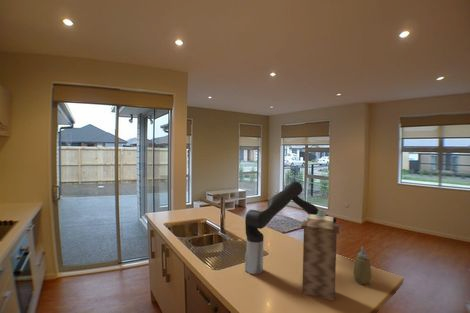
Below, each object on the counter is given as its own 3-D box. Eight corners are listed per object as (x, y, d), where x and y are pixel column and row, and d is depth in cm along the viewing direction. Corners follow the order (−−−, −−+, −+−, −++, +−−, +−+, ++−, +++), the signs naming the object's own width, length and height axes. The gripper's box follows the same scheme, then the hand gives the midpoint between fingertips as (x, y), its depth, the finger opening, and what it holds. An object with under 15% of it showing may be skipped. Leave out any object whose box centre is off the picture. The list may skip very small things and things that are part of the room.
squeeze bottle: (355, 276, 129) (356, 242, 128) (372, 281, 123) (373, 246, 123) (351, 282, 122) (352, 247, 122) (369, 288, 117) (370, 251, 117)
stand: (299, 293, 111) (301, 225, 111) (302, 283, 120) (303, 220, 119) (337, 302, 105) (339, 230, 105) (337, 291, 114) (338, 224, 113)
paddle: (307, 225, 110) (307, 218, 110) (310, 216, 127) (310, 209, 127) (333, 229, 106) (333, 221, 106) (333, 218, 123) (333, 211, 123)
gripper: (312, 213, 149) (309, 208, 136) (337, 217, 143) (336, 212, 130) (311, 225, 147) (308, 221, 133) (336, 229, 141) (335, 226, 127)
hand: (322, 216), depth 132 cm, fingers open, 8 cm apart
